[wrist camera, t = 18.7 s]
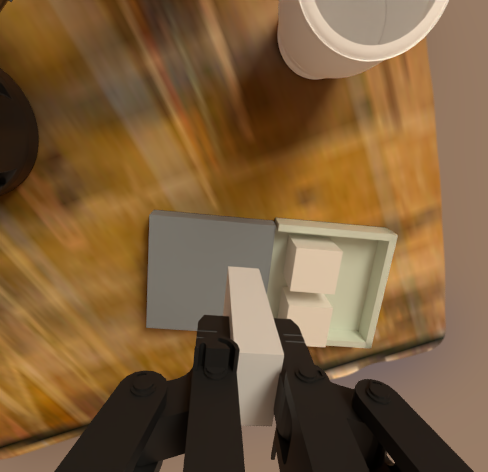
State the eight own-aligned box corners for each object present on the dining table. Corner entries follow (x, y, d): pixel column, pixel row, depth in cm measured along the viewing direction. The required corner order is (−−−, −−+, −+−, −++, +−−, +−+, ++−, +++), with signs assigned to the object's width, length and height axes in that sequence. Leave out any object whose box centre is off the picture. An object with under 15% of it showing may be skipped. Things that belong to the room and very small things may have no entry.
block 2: (276, 321, 44) (282, 344, 39) (282, 286, 42) (289, 305, 38) (314, 324, 44) (325, 347, 39) (321, 289, 43) (333, 308, 38)
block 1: (282, 273, 42) (290, 291, 37) (288, 234, 40) (296, 247, 36) (322, 276, 42) (334, 294, 37) (329, 238, 41) (343, 251, 36)
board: (150, 317, 43) (146, 327, 41) (154, 209, 40) (149, 214, 37) (259, 324, 44) (261, 335, 42) (273, 220, 41) (275, 225, 38)
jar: (365, 85, 37) (454, 53, 22) (270, 95, 37) (298, 68, 22) (366, -30, 34) (469, -153, 19) (263, -20, 34) (289, -137, 19)
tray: (260, 327, 44) (263, 341, 41) (275, 217, 40) (279, 224, 37) (361, 334, 46) (370, 348, 42) (385, 227, 41) (397, 234, 38)
